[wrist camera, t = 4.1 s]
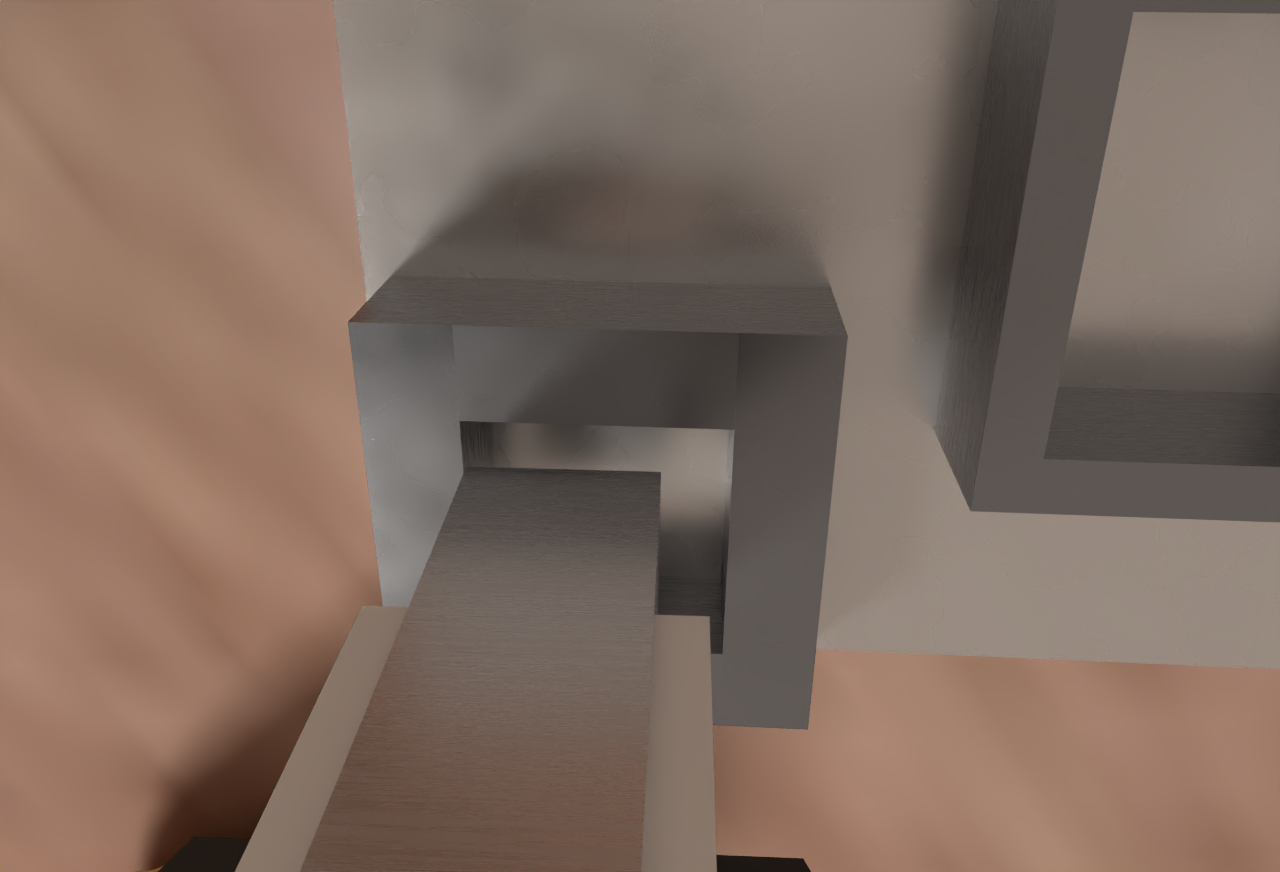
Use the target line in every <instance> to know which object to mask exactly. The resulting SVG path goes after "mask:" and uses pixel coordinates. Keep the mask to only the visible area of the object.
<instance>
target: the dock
mask: <svg viewBox="0 0 1280 872" xmlns="http://www.w3.org/2000/svg"><path fill="white" fill-rule="evenodd" d="M333 8H334V17H335V26H336V35H337V43H338V52H339V61H340V70H341V79H342V88H343V96H344V105H345V114H346V123H347V132H348V140H349V149H350V158H351V167H352V176H353V185H354V193H355V202H356V211H357V220H358V229H359V238H360V246H361V255H362V264H363V273H364V282H365V291H366V299H367V302H366V303H365V304H364V305H363V306H362V307H361V308H360V310H359V311H358V312H357V313H356V314H355V315H354V316H353V317H352V318H351V319H350V320H349V321H348V327H349V335H350V344H351V352H352V360H353V368H354V376H355V384H356V392H357V401H358V409H359V417H360V425H361V433H362V441H363V449H364V458H365V466H366V474H367V482H368V490H369V498H370V507H371V515H372V523H373V531H374V539H375V547H376V555H377V564H378V572H379V580H380V588H381V596H382V604H383V606H393V607H409V605H410V602H411V600H412V597H413V595H414V593H415V590H416V588H417V585H418V583H419V580H420V578H421V575H422V573H423V571H424V568H425V566H426V563H427V561H428V558H429V556H430V554H431V551H432V549H433V546H434V544H435V541H436V539H437V537H438V534H439V532H440V529H441V527H442V524H443V522H444V519H445V517H446V515H447V512H448V510H449V507H450V505H451V502H452V500H453V498H454V495H455V493H456V490H457V488H458V485H459V483H460V481H461V478H462V476H463V473H464V471H465V468H466V467H499V468H537V469H574V470H612V471H649V472H661V510H660V564H659V615H680V616H710V650H711V685H712V720H713V725H723V726H744V727H765V728H786V729H808V723H809V713H810V703H811V693H812V683H813V674H814V664H815V654H816V649H825V650H849V651H872V652H895V653H918V654H941V655H965V656H988V657H1011V658H1034V659H1058V660H1081V661H1104V662H1127V663H1150V664H1174V665H1197V666H1220V667H1243V668H1267V669H1280V0H333Z"/></svg>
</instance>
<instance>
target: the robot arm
mask: <svg viewBox="0 0 1280 872" xmlns="http://www.w3.org/2000/svg"><path fill="white" fill-rule="evenodd" d="M407 610H408V607H393V606H362V607H361V609H360V611H359V613H358V616H357V618H356V620H355V622H354V624H353V626H352V628H351V630H350V632H349V634H348V636H347V639H346V641H345V643H344V645H343V647H342V649H341V651H340V653H339V655H338V657H337V659H336V662H335V664H334V666H333V668H332V670H331V672H330V674H329V676H328V678H327V680H326V682H325V685H324V687H323V689H322V691H321V693H320V695H319V697H318V699H317V701H316V703H315V705H314V707H313V710H312V712H311V714H310V716H309V718H308V720H307V722H306V724H305V726H304V728H303V730H302V733H301V735H300V737H299V739H298V741H297V743H296V745H295V747H294V749H293V751H292V753H291V756H290V758H289V760H288V762H287V764H286V766H285V768H284V770H283V772H282V774H281V776H280V778H279V781H278V783H277V785H276V787H275V789H274V791H273V793H272V795H271V797H270V799H269V801H268V804H267V806H266V808H265V810H264V812H263V814H262V816H261V818H260V820H259V822H258V824H257V827H256V829H255V831H254V833H253V835H252V837H251V839H228V838H202V837H194V838H193V839H192V840H191V841H189V842H188V843H187V844H186V845H185V846H184V847H183V848H182V849H181V850H180V851H179V852H178V853H177V854H176V855H175V856H174V857H173V858H171V859H170V860H169V861H168V862H167V863H166V864H165V865H164V866H163V867H162V868H161V869H160V870H159V871H158V872H300V870H301V868H302V865H303V863H304V860H305V858H306V855H307V853H308V851H309V848H310V846H311V843H312V841H313V838H314V836H315V834H316V831H317V829H318V826H319V824H320V821H321V819H322V816H323V814H324V812H325V809H326V807H327V804H328V802H329V799H330V797H331V795H332V792H333V790H334V787H335V785H336V782H337V780H338V778H339V775H340V773H341V770H342V768H343V765H344V763H345V760H346V758H347V756H348V753H349V751H350V748H351V746H352V743H353V741H354V739H355V736H356V734H357V731H358V729H359V726H360V724H361V722H362V719H363V717H364V714H365V712H366V709H367V707H368V704H369V702H370V700H371V697H372V695H373V692H374V690H375V687H376V685H377V683H378V680H379V678H380V675H381V673H382V670H383V668H384V666H385V663H386V661H387V658H388V656H389V653H390V651H391V648H392V646H393V644H394V641H395V639H396V636H397V634H398V631H399V629H400V627H401V624H402V622H403V619H404V617H405V614H406V612H407ZM642 872H811V871H810V869H809V868H808V866H807V864H806V863H805V861H804V859H802V858H777V857H752V856H727V855H716V826H715V790H714V755H713V720H712V685H711V650H710V616H680V615H654V634H653V654H652V674H651V694H650V714H649V734H648V754H647V773H646V793H645V813H644V833H643V853H642Z"/></svg>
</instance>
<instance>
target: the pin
mask: <svg viewBox="0 0 1280 872" xmlns="http://www.w3.org/2000/svg"><path fill="white" fill-rule="evenodd" d="M660 510H661V472H649V471H612V470H574V469H537V468H499V467H466V468H465V471H464V473H463V476H462V478H461V481H460V483H459V485H458V488H457V490H456V493H455V495H454V498H453V500H452V502H451V505H450V507H449V510H448V512H447V515H446V517H445V519H444V522H443V524H442V527H441V529H440V532H439V534H438V537H437V539H436V541H435V544H434V546H433V549H432V551H431V554H430V556H429V558H428V561H427V563H426V566H425V568H424V571H423V573H422V575H421V578H420V580H419V583H418V585H417V588H416V590H415V593H414V595H413V597H412V600H411V602H410V605H409V607H408V610H407V612H406V614H405V617H404V619H403V622H402V624H401V627H400V629H399V631H398V634H397V636H396V639H395V641H394V644H393V646H392V648H391V651H390V653H389V656H388V658H387V661H386V663H385V666H384V668H383V670H382V673H381V675H380V678H379V680H378V683H377V685H376V687H375V690H374V692H373V695H372V697H371V700H370V702H369V704H368V707H367V709H366V712H365V714H364V717H363V719H362V722H361V724H360V726H359V729H358V731H357V734H356V736H355V739H354V741H353V743H352V746H351V748H350V751H349V753H348V756H347V758H346V760H345V763H344V765H343V768H342V770H341V773H340V775H339V778H338V780H337V782H336V785H335V787H334V790H333V792H332V795H331V797H330V799H329V802H328V804H327V807H326V809H325V812H324V814H323V816H322V819H321V821H320V824H319V826H318V829H317V831H316V834H315V836H314V838H313V841H312V843H311V846H310V848H309V851H308V853H307V855H306V858H305V860H304V863H303V865H302V868H301V870H300V872H642V853H643V833H644V813H645V793H646V773H647V754H648V734H649V714H650V694H651V674H652V654H653V634H654V615H659V564H660Z"/></svg>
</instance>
